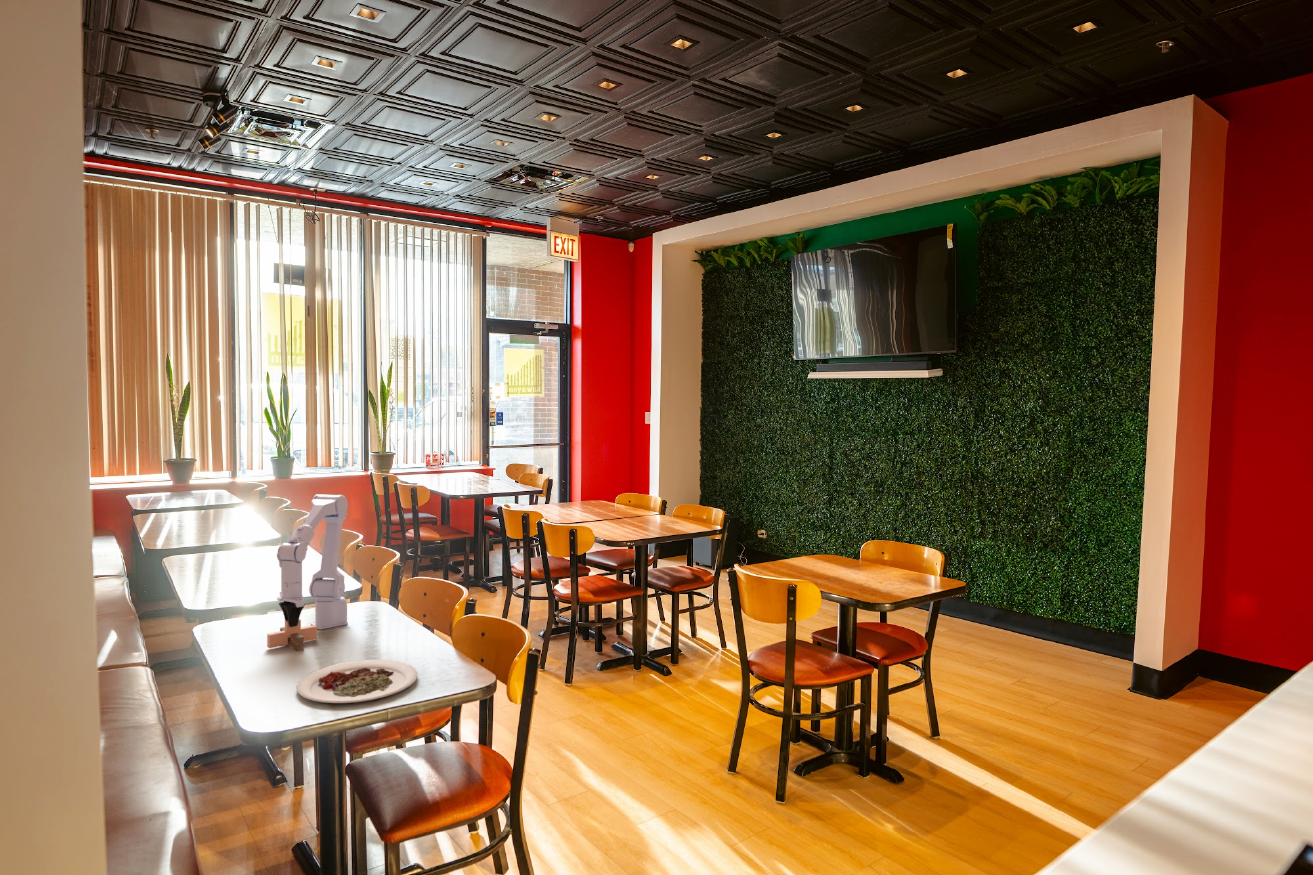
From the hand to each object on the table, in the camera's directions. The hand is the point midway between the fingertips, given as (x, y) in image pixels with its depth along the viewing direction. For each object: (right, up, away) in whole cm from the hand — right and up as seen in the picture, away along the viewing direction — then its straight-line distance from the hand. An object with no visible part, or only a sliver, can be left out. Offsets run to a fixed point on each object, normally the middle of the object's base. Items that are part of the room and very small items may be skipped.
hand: (291, 625), depth 229 cm
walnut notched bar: (0, -6, 0) cm, 6 cm away
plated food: (+33, -9, -30) cm, 46 cm away
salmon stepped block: (0, -6, 0) cm, 6 cm away
